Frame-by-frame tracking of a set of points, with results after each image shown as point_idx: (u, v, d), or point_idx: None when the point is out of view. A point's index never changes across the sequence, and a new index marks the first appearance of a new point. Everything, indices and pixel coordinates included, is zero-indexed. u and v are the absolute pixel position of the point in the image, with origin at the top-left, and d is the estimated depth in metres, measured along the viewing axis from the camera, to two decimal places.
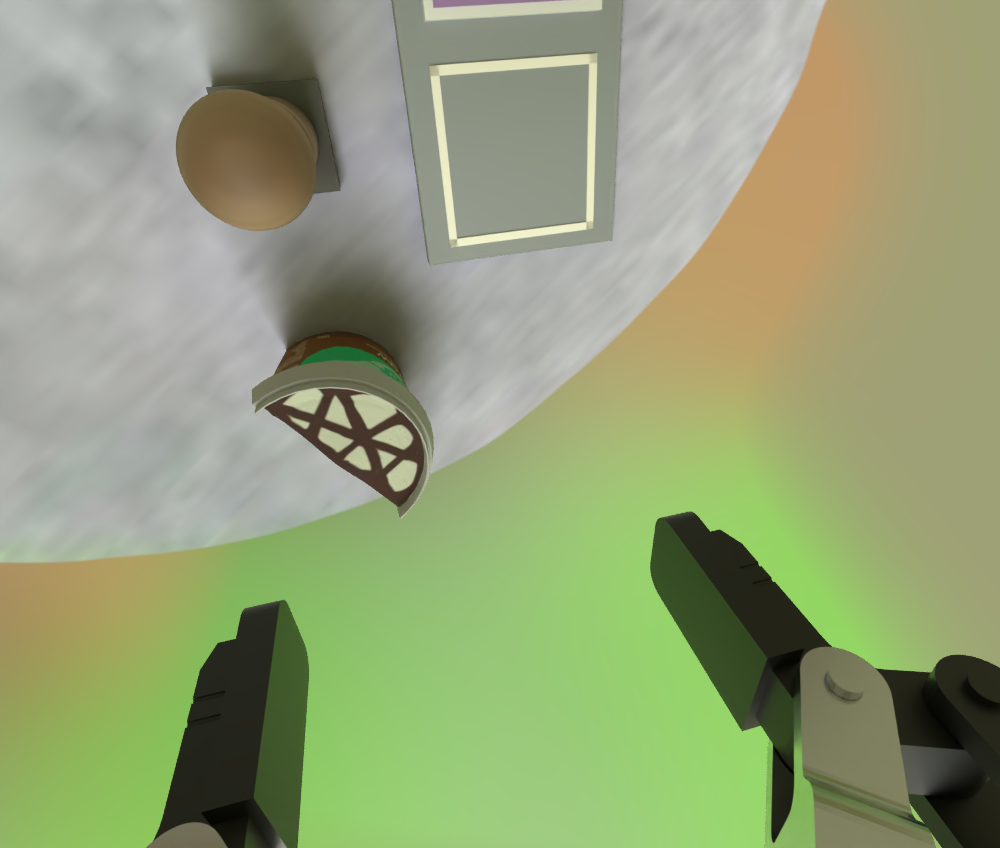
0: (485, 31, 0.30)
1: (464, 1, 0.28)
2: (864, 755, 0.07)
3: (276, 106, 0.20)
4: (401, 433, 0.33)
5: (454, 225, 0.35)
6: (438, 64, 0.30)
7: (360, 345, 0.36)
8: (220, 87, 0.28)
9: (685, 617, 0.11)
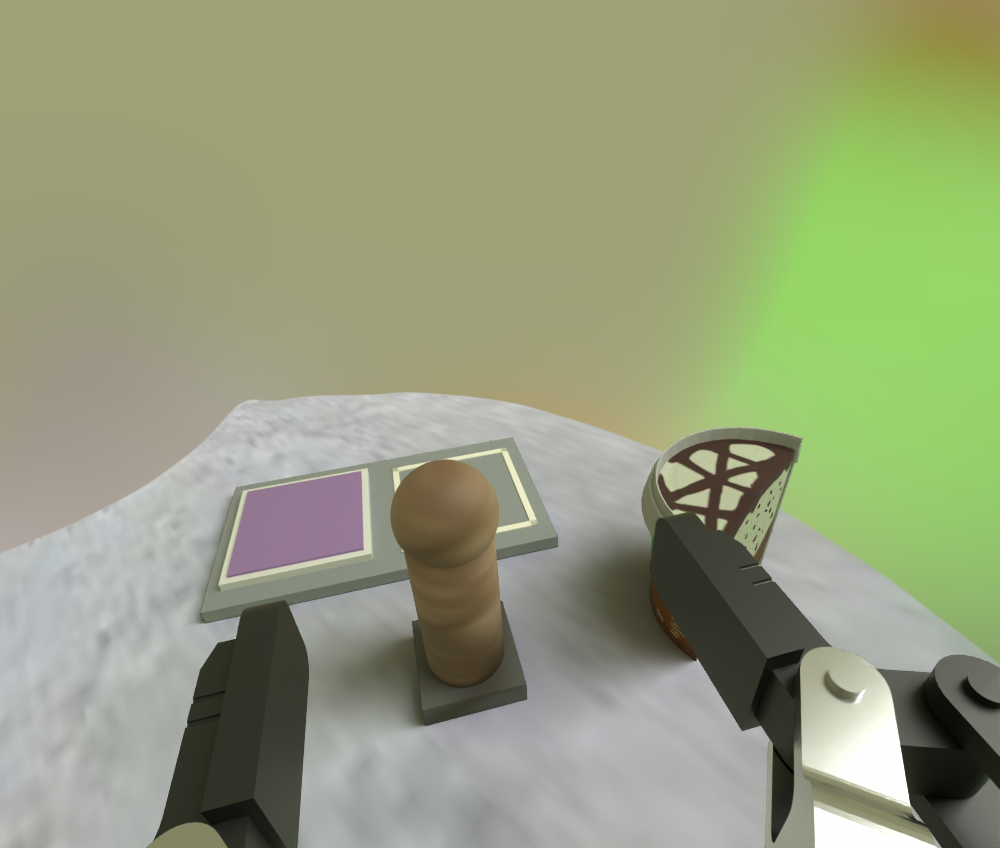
0: (379, 525, 0.40)
1: (360, 531, 0.39)
2: (865, 755, 0.07)
3: None
4: (699, 457, 0.32)
5: (519, 524, 0.40)
6: (400, 548, 0.38)
7: None
8: (421, 697, 0.28)
9: (685, 617, 0.11)
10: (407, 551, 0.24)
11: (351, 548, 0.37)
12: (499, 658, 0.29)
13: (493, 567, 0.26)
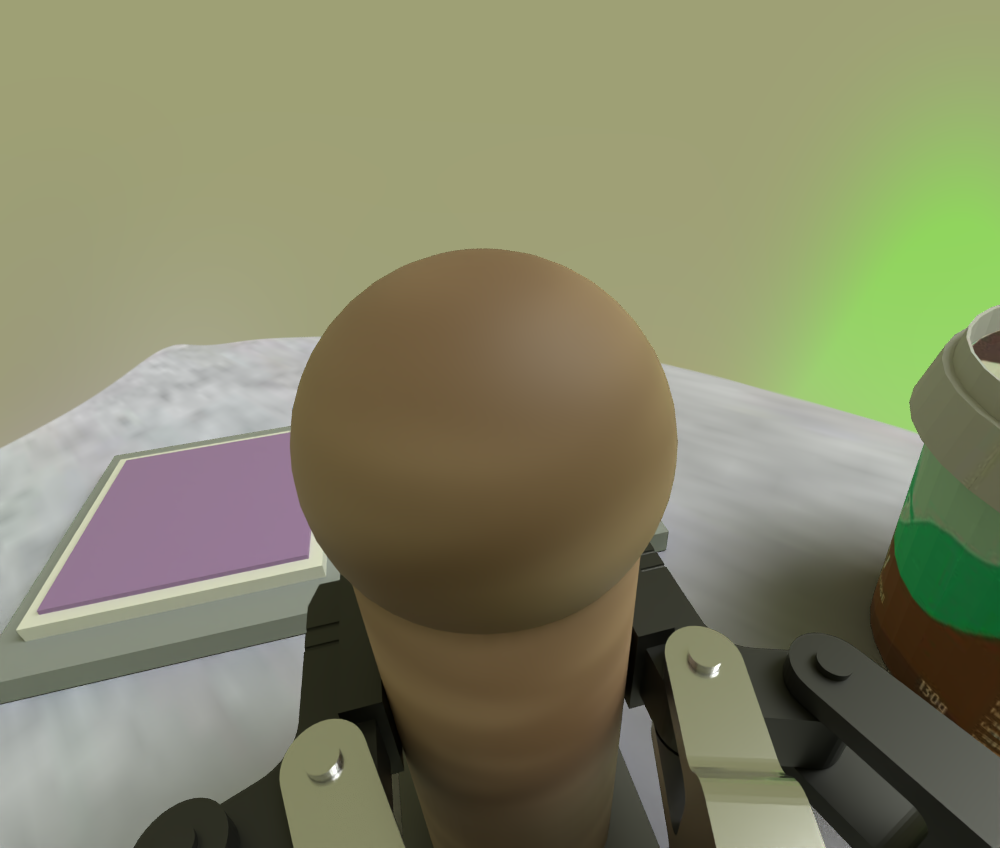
0: None
1: (305, 525, 0.21)
2: (733, 725, 0.08)
3: None
4: None
5: None
6: None
7: (893, 594, 0.16)
8: None
9: None
10: (346, 572, 0.06)
11: (285, 555, 0.20)
12: (607, 829, 0.12)
13: (632, 616, 0.08)
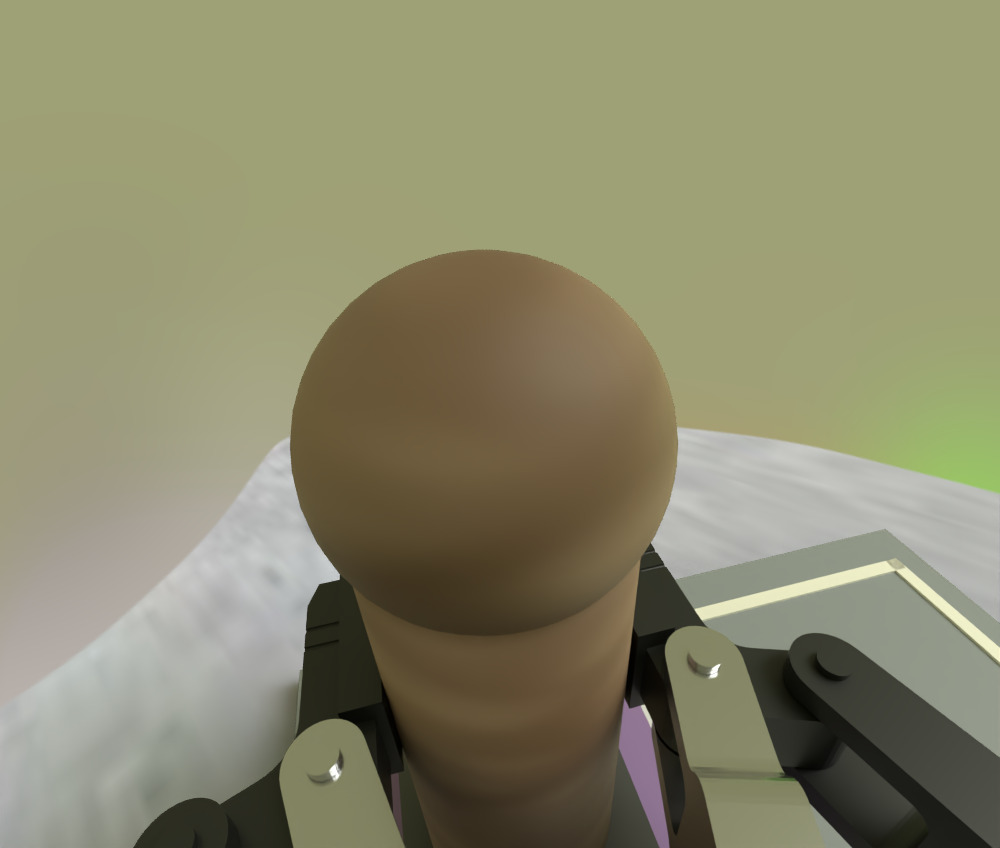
0: None
1: None
2: (733, 725, 0.08)
3: None
4: None
5: None
6: None
7: None
8: None
9: None
10: (347, 574, 0.06)
11: None
12: (607, 829, 0.12)
13: (633, 617, 0.08)
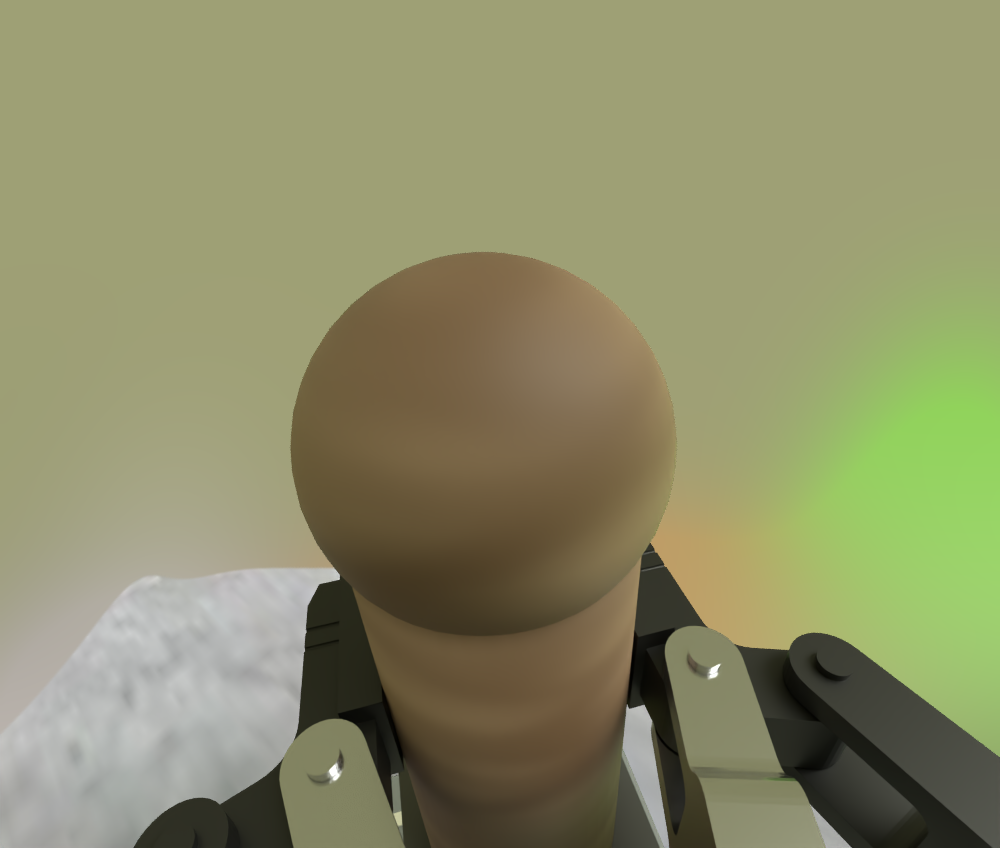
0: None
1: None
2: (734, 725, 0.08)
3: None
4: None
5: None
6: None
7: None
8: None
9: None
10: (347, 574, 0.06)
11: None
12: (611, 840, 0.12)
13: (634, 620, 0.08)
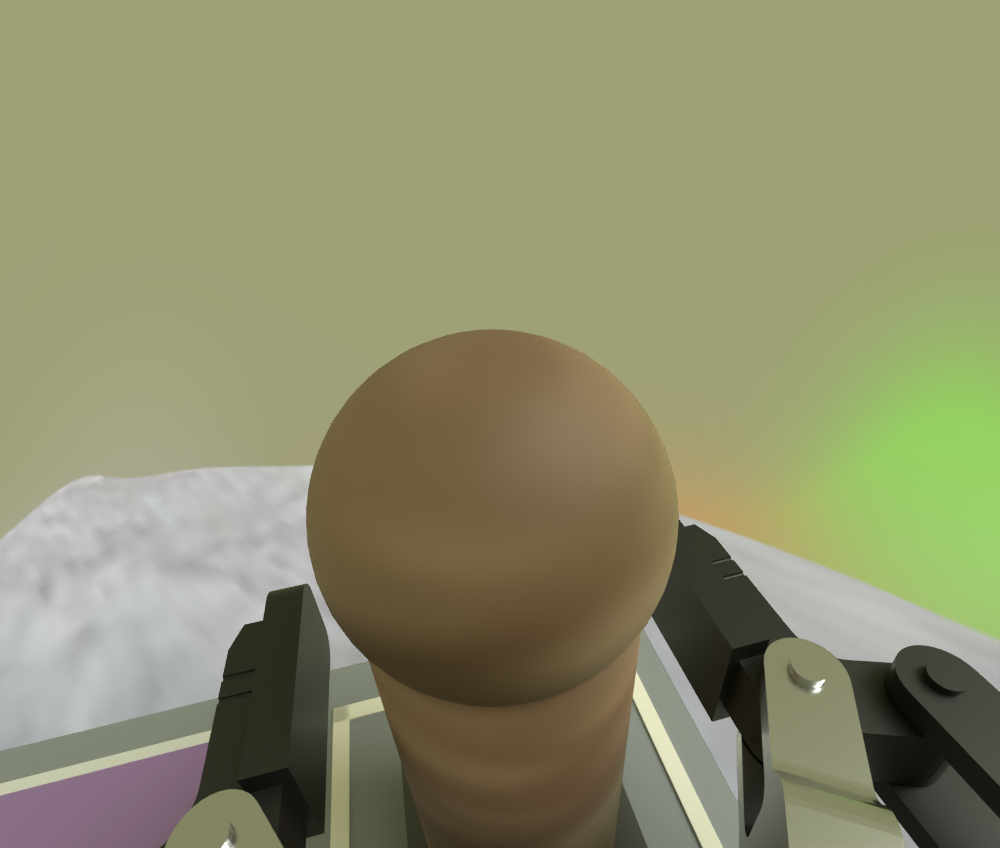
0: None
1: None
2: (829, 743, 0.07)
3: None
4: None
5: None
6: None
7: None
8: None
9: (660, 610, 0.11)
10: (362, 650, 0.06)
11: None
12: None
13: (635, 672, 0.09)
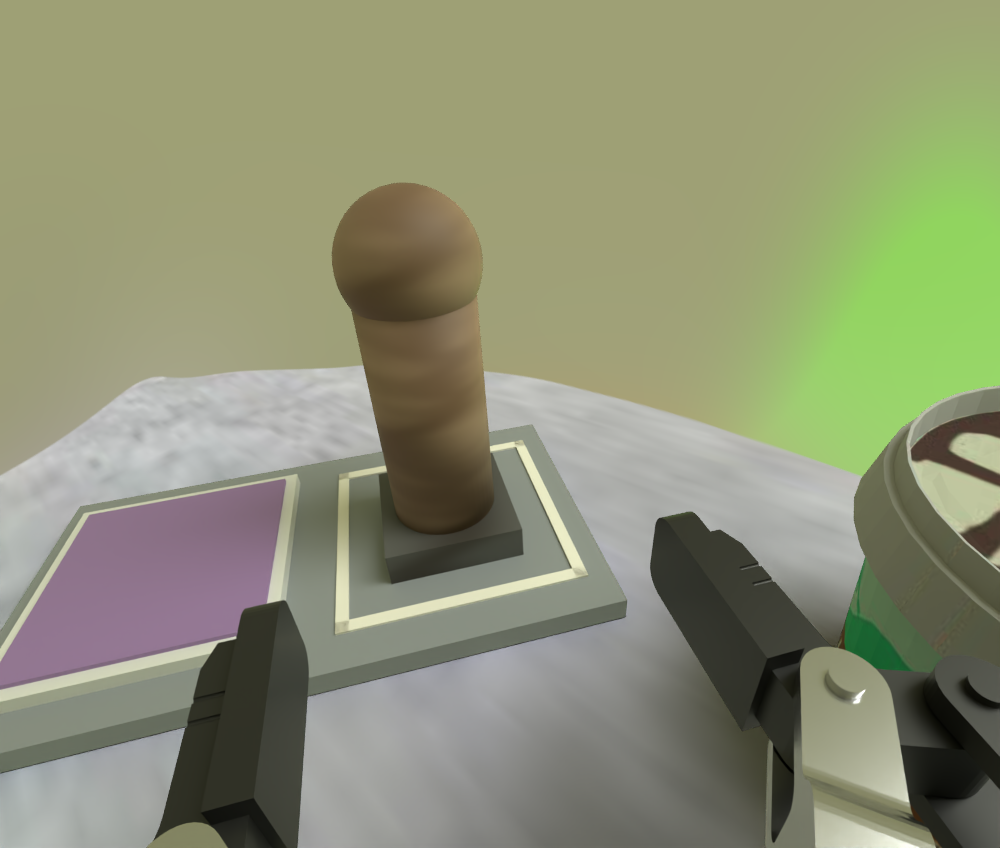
0: (303, 576, 0.23)
1: (261, 592, 0.21)
2: (864, 754, 0.07)
3: None
4: (973, 449, 0.14)
5: (552, 575, 0.22)
6: (334, 623, 0.21)
7: None
8: (385, 545, 0.22)
9: (685, 617, 0.11)
10: (353, 296, 0.17)
11: None
12: (487, 501, 0.23)
13: (476, 347, 0.19)
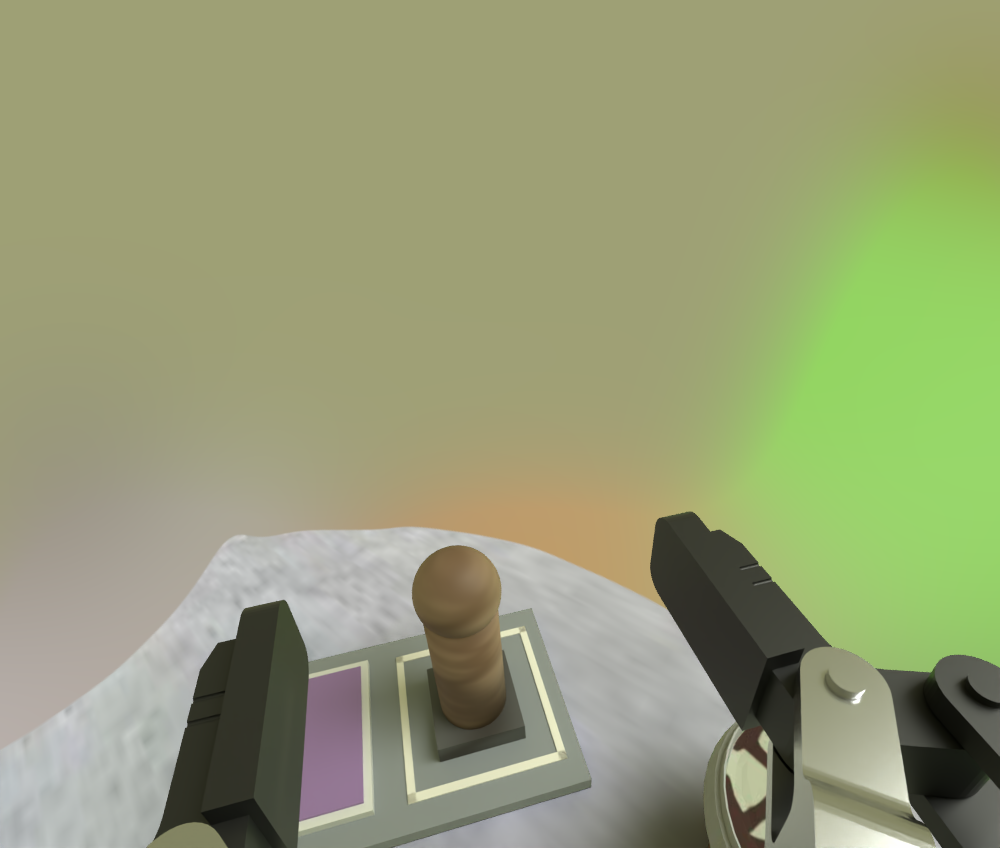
0: (382, 754, 0.35)
1: (359, 772, 0.33)
2: (864, 754, 0.07)
3: None
4: None
5: (544, 756, 0.34)
6: (407, 795, 0.33)
7: None
8: (437, 738, 0.34)
9: (685, 617, 0.11)
10: (426, 625, 0.29)
11: (349, 802, 0.32)
12: (502, 703, 0.35)
13: (496, 633, 0.31)
